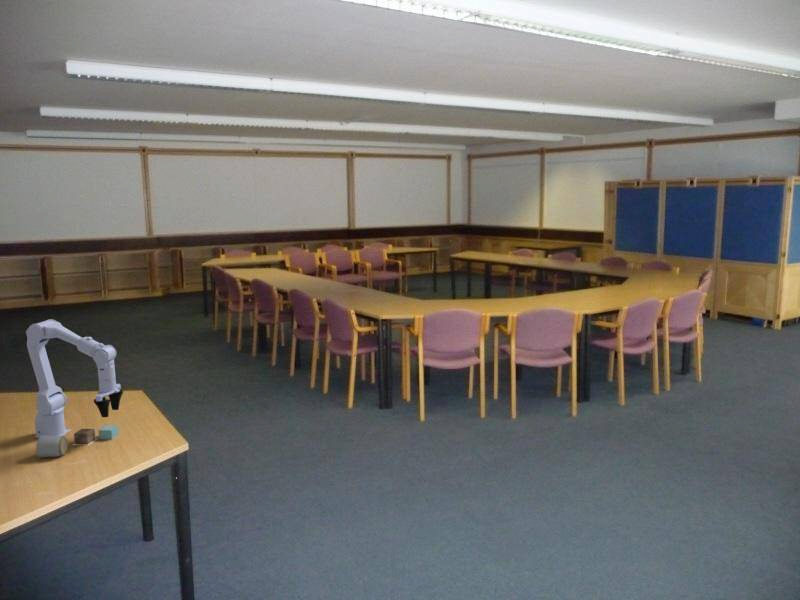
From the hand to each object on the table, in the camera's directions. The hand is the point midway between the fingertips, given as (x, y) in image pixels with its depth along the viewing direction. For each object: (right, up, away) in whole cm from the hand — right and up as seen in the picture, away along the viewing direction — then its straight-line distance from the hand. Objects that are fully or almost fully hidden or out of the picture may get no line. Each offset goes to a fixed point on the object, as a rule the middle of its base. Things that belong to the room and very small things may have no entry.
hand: (110, 413), depth 239 cm
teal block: (-1, -10, +1) cm, 10 cm away
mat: (-9, -10, -3) cm, 14 cm away
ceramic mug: (-14, -12, -13) cm, 23 cm away
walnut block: (-8, -10, -3) cm, 13 cm away
